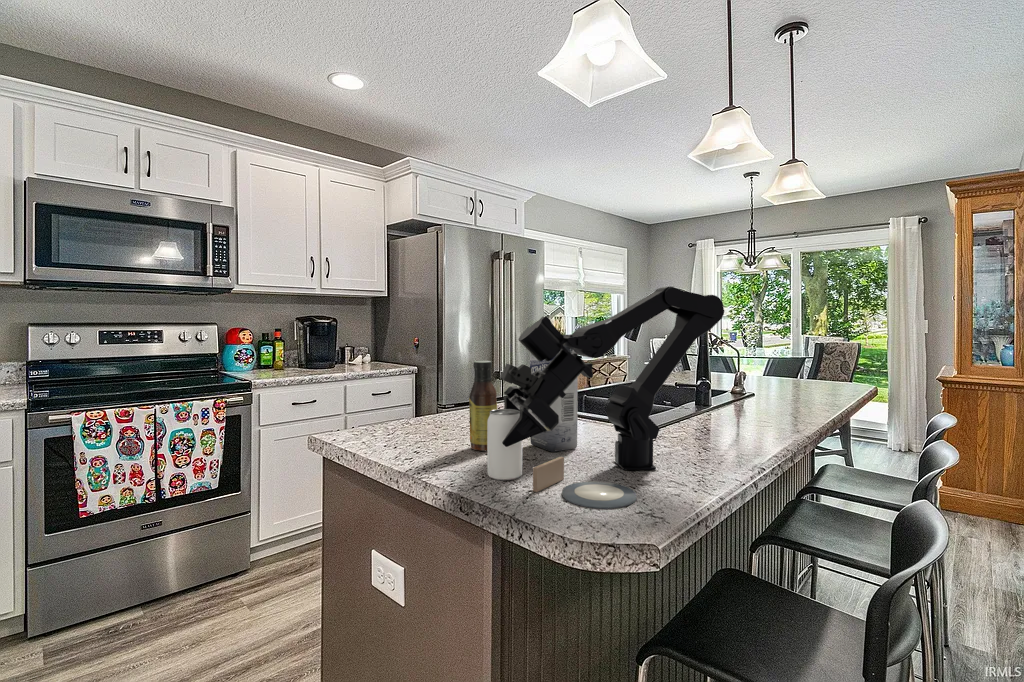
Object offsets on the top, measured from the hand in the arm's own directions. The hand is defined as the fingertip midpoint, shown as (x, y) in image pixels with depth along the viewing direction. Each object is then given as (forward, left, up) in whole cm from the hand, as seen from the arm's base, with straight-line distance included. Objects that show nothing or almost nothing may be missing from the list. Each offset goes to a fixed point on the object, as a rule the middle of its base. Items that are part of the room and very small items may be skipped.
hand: (498, 439), depth 96 cm
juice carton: (-13, -22, -7) cm, 27 cm away
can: (-1, 0, -7) cm, 7 cm away
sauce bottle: (+3, -21, -7) cm, 23 cm away
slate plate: (-16, +12, -7) cm, 21 cm away
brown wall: (-9, +6, -7) cm, 12 cm away
